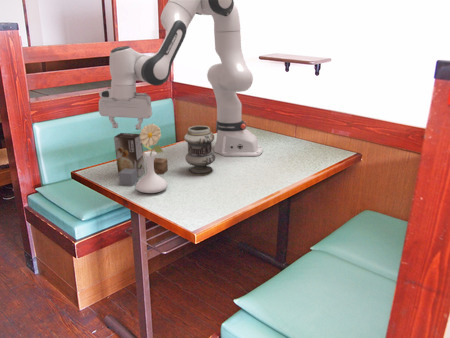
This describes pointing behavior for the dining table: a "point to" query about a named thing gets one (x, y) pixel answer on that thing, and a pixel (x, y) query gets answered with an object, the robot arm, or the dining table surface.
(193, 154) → the apothecary jar
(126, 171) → the slate grey block
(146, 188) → the flower in vase
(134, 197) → the dining table surface
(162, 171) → the walnut block
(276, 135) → the dining table surface
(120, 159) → the coffee box
